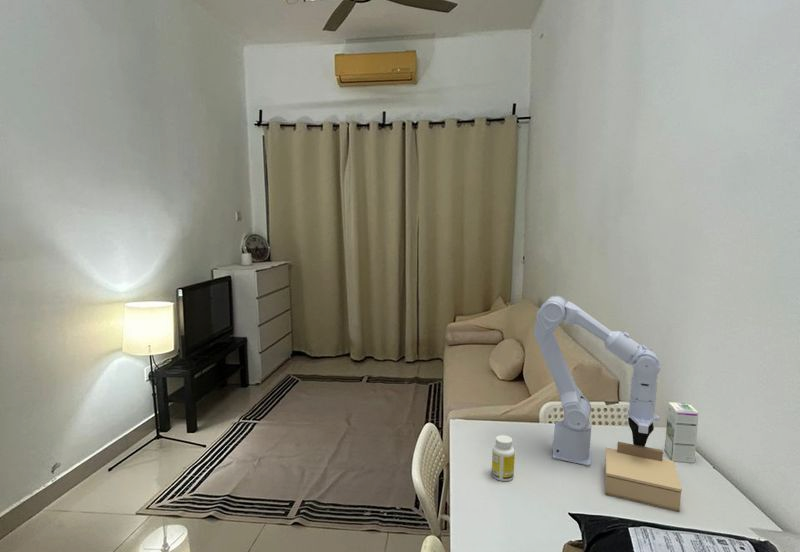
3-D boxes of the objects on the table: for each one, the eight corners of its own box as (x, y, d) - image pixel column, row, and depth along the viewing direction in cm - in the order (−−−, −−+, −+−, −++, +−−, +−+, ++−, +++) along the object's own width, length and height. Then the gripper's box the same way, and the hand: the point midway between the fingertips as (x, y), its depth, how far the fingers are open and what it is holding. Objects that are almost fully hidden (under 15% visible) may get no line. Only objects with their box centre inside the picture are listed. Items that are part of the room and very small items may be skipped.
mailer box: (605, 494, 106) (606, 476, 106) (604, 467, 118) (606, 450, 117) (679, 511, 100) (681, 493, 100) (671, 481, 112) (672, 464, 111)
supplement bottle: (515, 473, 115) (517, 436, 114) (511, 484, 110) (513, 446, 109) (494, 467, 117) (495, 432, 116) (489, 478, 112) (490, 441, 111)
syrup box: (695, 463, 120) (700, 411, 119) (670, 461, 122) (675, 409, 120) (686, 453, 126) (691, 403, 124) (663, 450, 127) (667, 401, 125)
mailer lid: (606, 475, 106) (606, 463, 105) (605, 449, 118) (606, 438, 117) (681, 492, 99) (683, 479, 99) (673, 463, 111) (674, 451, 111)
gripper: (664, 411, 106) (659, 465, 108) (657, 390, 119) (653, 439, 121) (631, 405, 109) (626, 458, 111) (627, 386, 122) (624, 433, 124)
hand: (638, 448), depth 116 cm, fingers closed
